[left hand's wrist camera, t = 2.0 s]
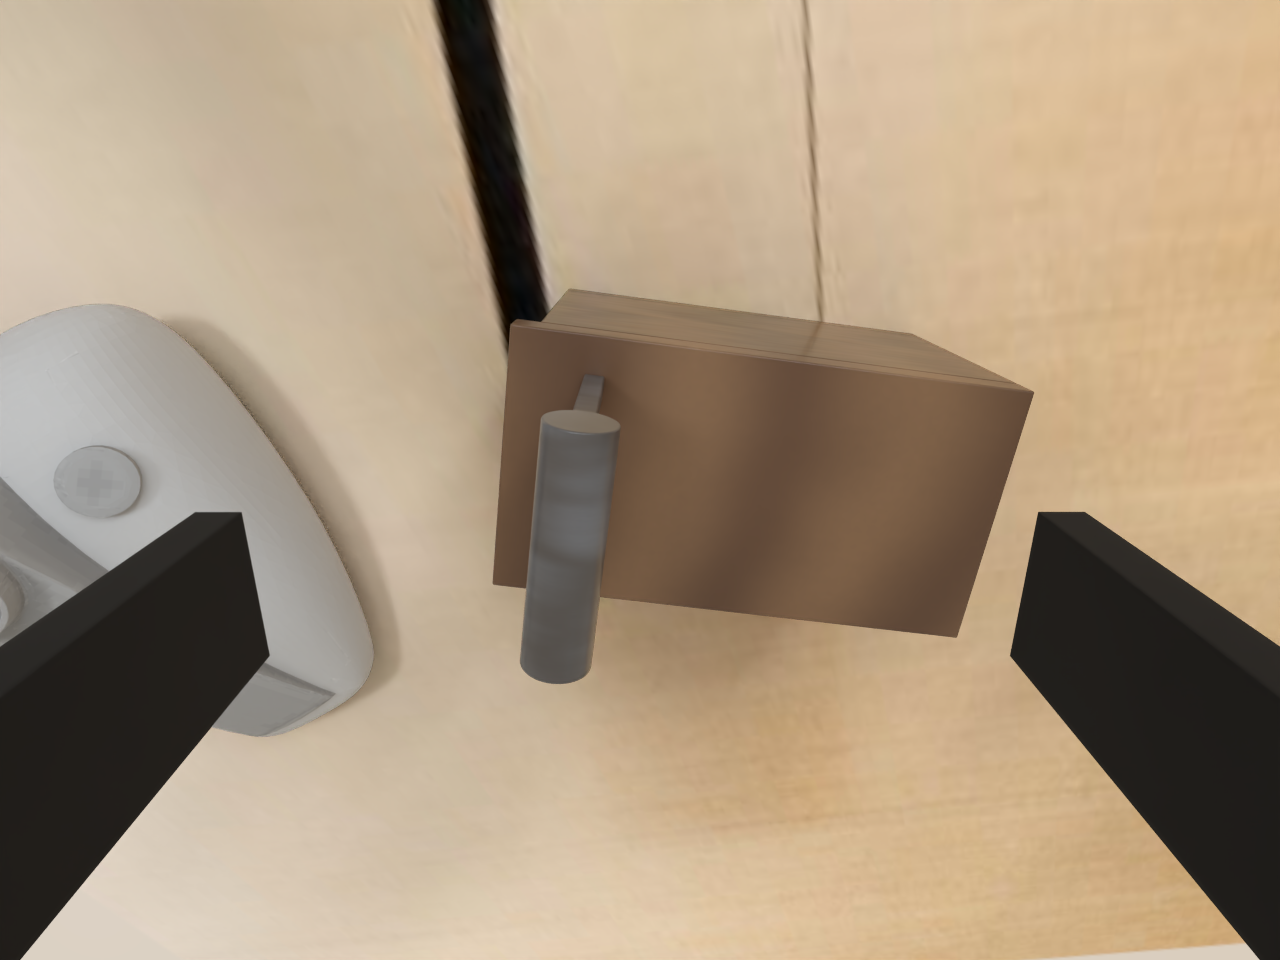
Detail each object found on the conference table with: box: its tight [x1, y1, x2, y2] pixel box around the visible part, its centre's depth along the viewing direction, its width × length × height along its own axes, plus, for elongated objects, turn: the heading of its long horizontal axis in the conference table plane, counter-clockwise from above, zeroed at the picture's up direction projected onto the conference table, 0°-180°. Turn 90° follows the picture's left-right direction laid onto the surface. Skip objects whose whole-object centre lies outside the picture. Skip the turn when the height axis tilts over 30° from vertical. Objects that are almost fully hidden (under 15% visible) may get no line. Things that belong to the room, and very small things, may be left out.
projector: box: [0, 304, 374, 737], centre depth 33 cm, size 22×23×15 cm
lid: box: [493, 319, 1034, 684], centre depth 24 cm, size 18×10×9 cm, turn 83°
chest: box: [541, 289, 1016, 384], centre depth 33 cm, size 17×10×11 cm, turn 83°
